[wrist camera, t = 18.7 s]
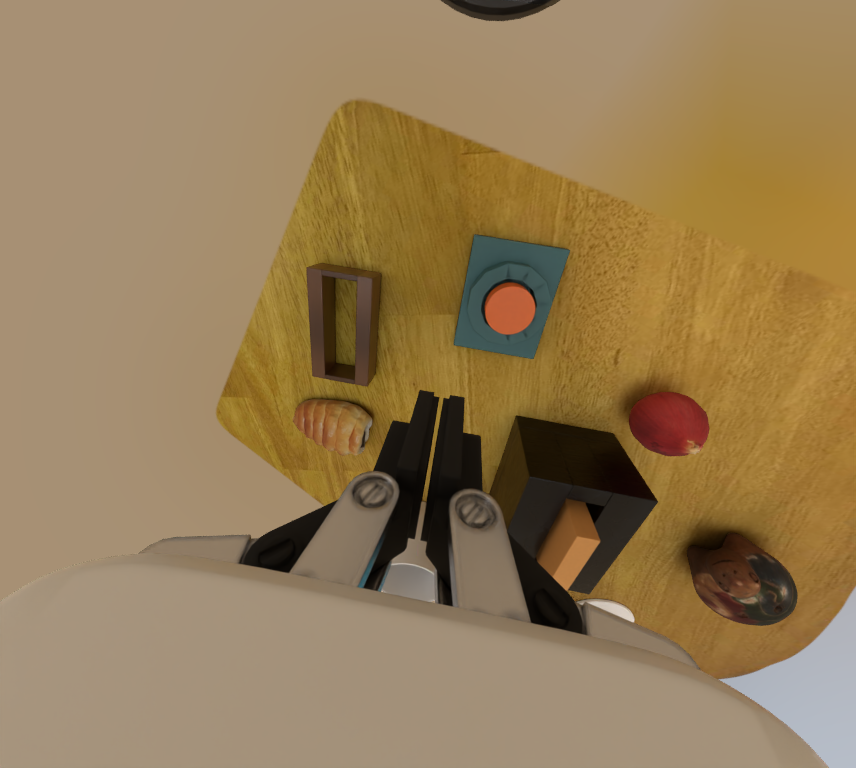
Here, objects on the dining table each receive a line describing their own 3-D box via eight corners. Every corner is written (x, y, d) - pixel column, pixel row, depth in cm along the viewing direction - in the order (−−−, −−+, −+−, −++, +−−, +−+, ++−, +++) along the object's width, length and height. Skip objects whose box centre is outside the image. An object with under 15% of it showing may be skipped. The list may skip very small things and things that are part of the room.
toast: (550, 455, 34) (577, 536, 26) (568, 459, 34) (601, 541, 26) (527, 508, 39) (542, 593, 30) (542, 511, 39) (563, 597, 30)
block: (474, 234, 27) (474, 235, 24) (566, 248, 26) (576, 252, 24) (454, 341, 32) (452, 352, 29) (531, 354, 31) (536, 367, 29)
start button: (490, 278, 26) (491, 282, 24) (538, 286, 26) (542, 290, 24) (480, 324, 28) (480, 330, 26) (524, 331, 27) (527, 338, 26)
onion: (669, 424, 33) (723, 480, 26) (612, 425, 34) (648, 479, 27) (685, 376, 30) (749, 424, 23) (622, 378, 31) (665, 425, 24)
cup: (383, 505, 45) (361, 574, 36) (426, 485, 42) (414, 555, 33) (416, 537, 47) (404, 609, 39) (460, 520, 44) (457, 594, 36)
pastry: (299, 428, 40) (283, 447, 37) (301, 385, 37) (283, 401, 33) (368, 447, 40) (359, 468, 37) (376, 406, 37) (367, 424, 33)
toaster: (516, 415, 35) (529, 476, 26) (613, 433, 34) (658, 501, 26) (485, 503, 42) (489, 573, 34) (566, 519, 42) (589, 594, 33)
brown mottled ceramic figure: (725, 505, 37) (791, 573, 30) (776, 559, 42) (844, 628, 35) (649, 541, 41) (692, 608, 34) (704, 586, 45) (752, 654, 38)
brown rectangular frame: (320, 262, 29) (306, 267, 27) (381, 272, 29) (372, 278, 27) (324, 364, 35) (312, 376, 32) (375, 374, 35) (367, 386, 32)
